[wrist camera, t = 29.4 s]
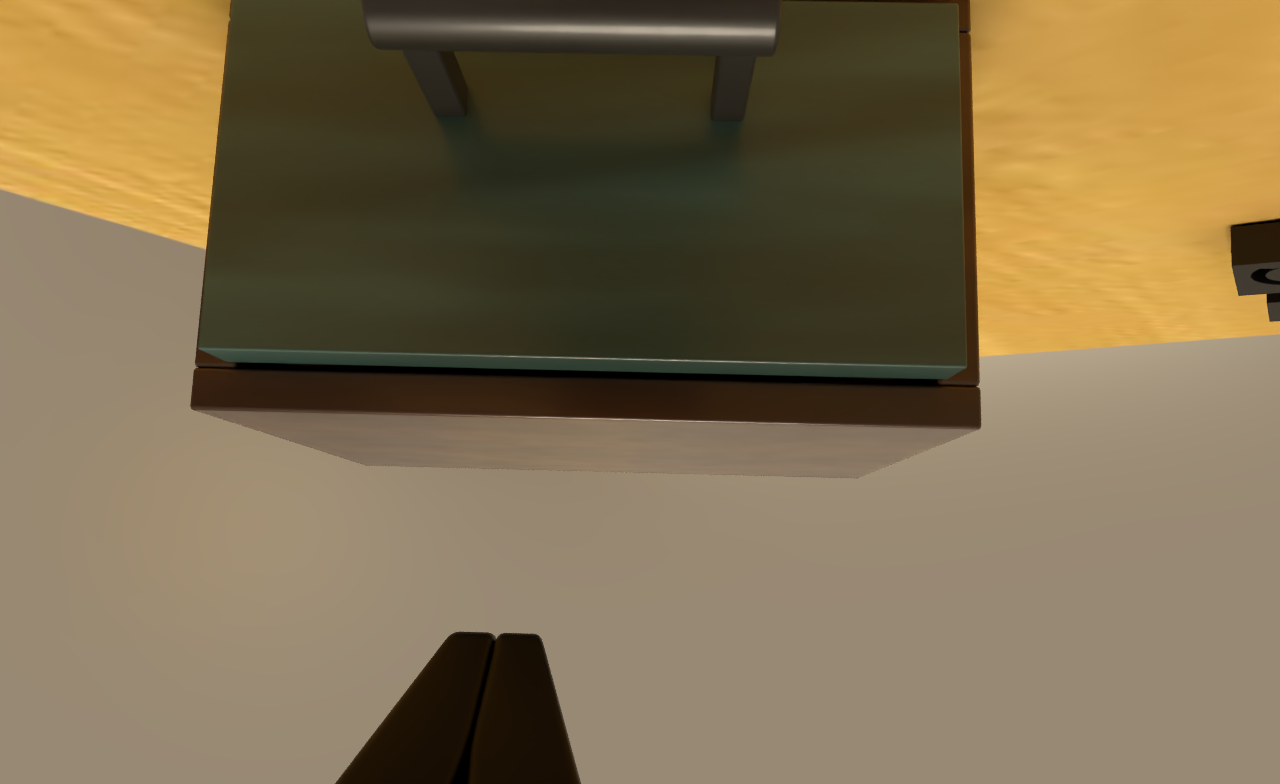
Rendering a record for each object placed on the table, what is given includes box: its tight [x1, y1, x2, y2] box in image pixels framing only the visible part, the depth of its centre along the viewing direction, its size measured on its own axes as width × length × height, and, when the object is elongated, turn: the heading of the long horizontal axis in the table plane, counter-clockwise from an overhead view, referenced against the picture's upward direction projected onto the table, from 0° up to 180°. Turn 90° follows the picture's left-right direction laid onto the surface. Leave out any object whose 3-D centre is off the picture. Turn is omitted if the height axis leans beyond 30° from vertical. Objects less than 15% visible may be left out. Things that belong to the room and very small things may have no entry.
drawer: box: [198, 0, 967, 385], centre depth 22 cm, size 15×13×7 cm
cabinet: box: [190, 0, 981, 478], centre depth 25 cm, size 12×15×9 cm
